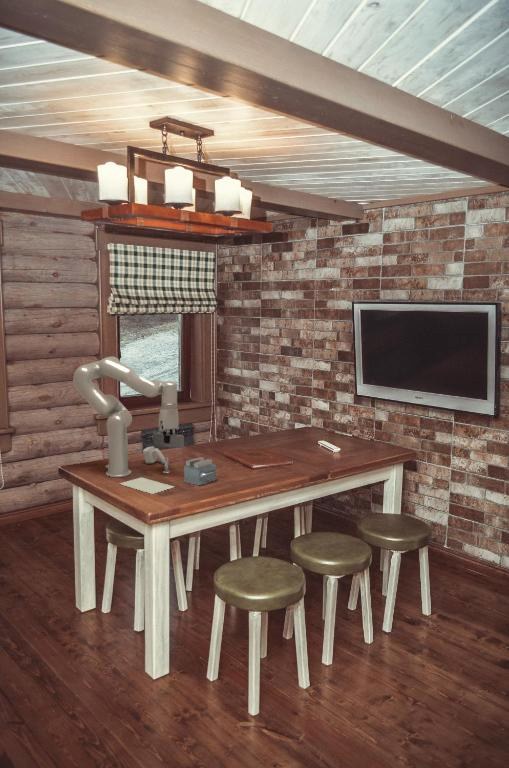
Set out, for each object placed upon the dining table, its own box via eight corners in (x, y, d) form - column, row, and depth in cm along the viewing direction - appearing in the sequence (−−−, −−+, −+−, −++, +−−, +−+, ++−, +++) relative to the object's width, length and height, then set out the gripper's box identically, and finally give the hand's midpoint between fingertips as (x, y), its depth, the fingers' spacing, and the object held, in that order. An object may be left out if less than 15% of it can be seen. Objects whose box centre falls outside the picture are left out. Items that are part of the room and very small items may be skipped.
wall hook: (164, 464, 317) (160, 446, 317) (146, 468, 320) (142, 450, 319) (169, 461, 325) (165, 443, 325) (152, 464, 328) (148, 446, 327)
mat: (118, 484, 283) (118, 483, 283) (141, 478, 294) (141, 477, 294) (152, 494, 268) (152, 493, 268) (175, 487, 279) (174, 486, 279)
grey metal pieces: (155, 474, 301) (155, 454, 300) (172, 469, 310) (172, 450, 309) (200, 486, 281) (200, 465, 280) (217, 481, 290) (218, 460, 289)
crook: (153, 445, 302) (152, 433, 301) (166, 442, 309) (165, 430, 308) (180, 448, 289) (180, 436, 289) (193, 445, 296) (192, 433, 296)
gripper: (175, 403, 302) (175, 439, 305) (151, 407, 290) (151, 443, 292) (186, 405, 298) (185, 441, 300) (162, 409, 285) (161, 446, 288)
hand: (168, 442), depth 296 cm, fingers closed on crook
